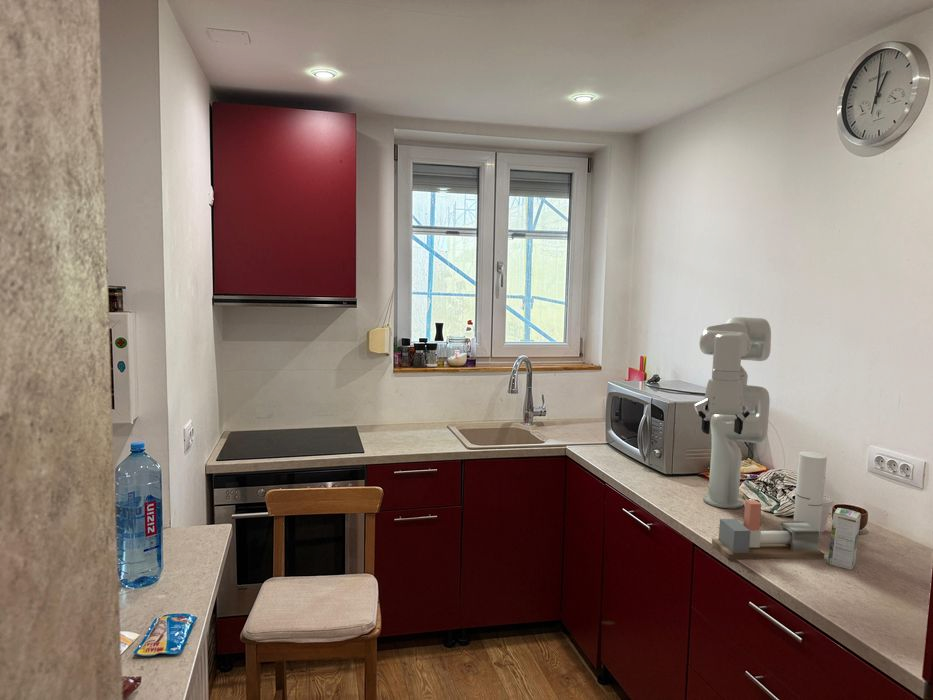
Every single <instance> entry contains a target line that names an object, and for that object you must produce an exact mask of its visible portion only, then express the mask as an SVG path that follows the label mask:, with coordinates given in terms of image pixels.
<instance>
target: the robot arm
mask: <svg viewBox="0 0 933 700" xmlns="http://www.w3.org/2000/svg"><path fill="white" fill-rule="evenodd" d="M771 341H772V331H771V326H770V323H769V321H768V320H767V319H765V318H762V317H745V316H744V317H743V316H738V317H737V316H736V317H731V318H729V319H728V320H727V321H725V323H722V324H717V325H710V326H707V327H705V329H703V331H702V333H701V335H700V338H699V349H700V351H701V352H702V353H703V354H704V355H708V356H712V357H713V358H712V371H711V372H712V373H711V379H708V381H707V385H706V388H705V393H704V397H703V399H704V400H702V401H701V400H700V401H699V402H697V403H695V404H694V405H693V407H694V409H695V412H696V413H697V416H699V418H700V419H701V431H702V433H704V434H706V435H709V434H710V433H711V435H710V436H711V452H710V453H711V454H710V464H709V465H710V466H709V467H710V468H709V480H708V484H707V488H708V493H705V494H704V495H703V498H702V499H703V501H704V502H705V503H706V504H708V505H710V506H713V507H715V508H722V509H733V510H734V509H739V508H742V507H743V506H744V501H743V499H742V498H740V497H739V496H740V495H739V494H740V484H741V483H740V482H741V481H740V480H741V471H742V469H741V468H742V459H743V458H742V450H741V449H740V447H739V446H738V444H737V443H736V442H745V443H755V444H761V443H763V442H765V441H766V439H767V435H768V431H769V416H770V401H771V400H770V399H771V398H770V394H769V391H768V390H767V388H766V387H763V386H757V385H749V384H748V378H749V375H748V373H747V371H746V370H745V368H744V367H743V366H742V365H741V363H742V362H741V361H752V362H753V361H754V362H763V361H767V360H768V359H769V357H770V354H771V351H772V350H771V346H772V344H771ZM702 408H703V411H704V412H703V411H702ZM735 441H736V442H735Z"/></svg>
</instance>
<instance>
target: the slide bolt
mask: <svg viewBox="0 0 933 700" xmlns="http://www.w3.org/2000/svg"><path fill="white" fill-rule="evenodd" d="M744 501H745V502H744V511H743V512H744V514H743V525H744V526H745V527H746V528H748V529H749V530H750V543H749V547H760V544H791V541H792V533H791V532H790V531H780V530H760V526H761V525H760V524H761V513H762V503H761V502H759V501H758V500H755V499H754V500H753V499H752V500H751V499H750V500H749V499H748V500H747V499H746V500H744Z"/></svg>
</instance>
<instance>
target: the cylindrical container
mask: <svg viewBox="0 0 933 700" xmlns="http://www.w3.org/2000/svg"><path fill="white" fill-rule="evenodd" d="M827 458H828V456H827V455H825V454H824V453H820V452H816V451H811V450H810V451H808V450H807V451H799V452H798V462H797V464H798V465H797V473H796V474H797V475H796V485H795V486H796V487H795V496H794V508H793V509H794V510H793V520H792V521H805V522H806V523H808V524H809V525H811V526H812V527H814V528H815V529H817V530H818V531H820V526H821V515H822V505H823V504H822V503H823V497H824V492H825V483H826V481H825V480H826V472H827V471H826V470H827V460H828V459H827ZM820 536H821V532H819V538H820Z"/></svg>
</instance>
